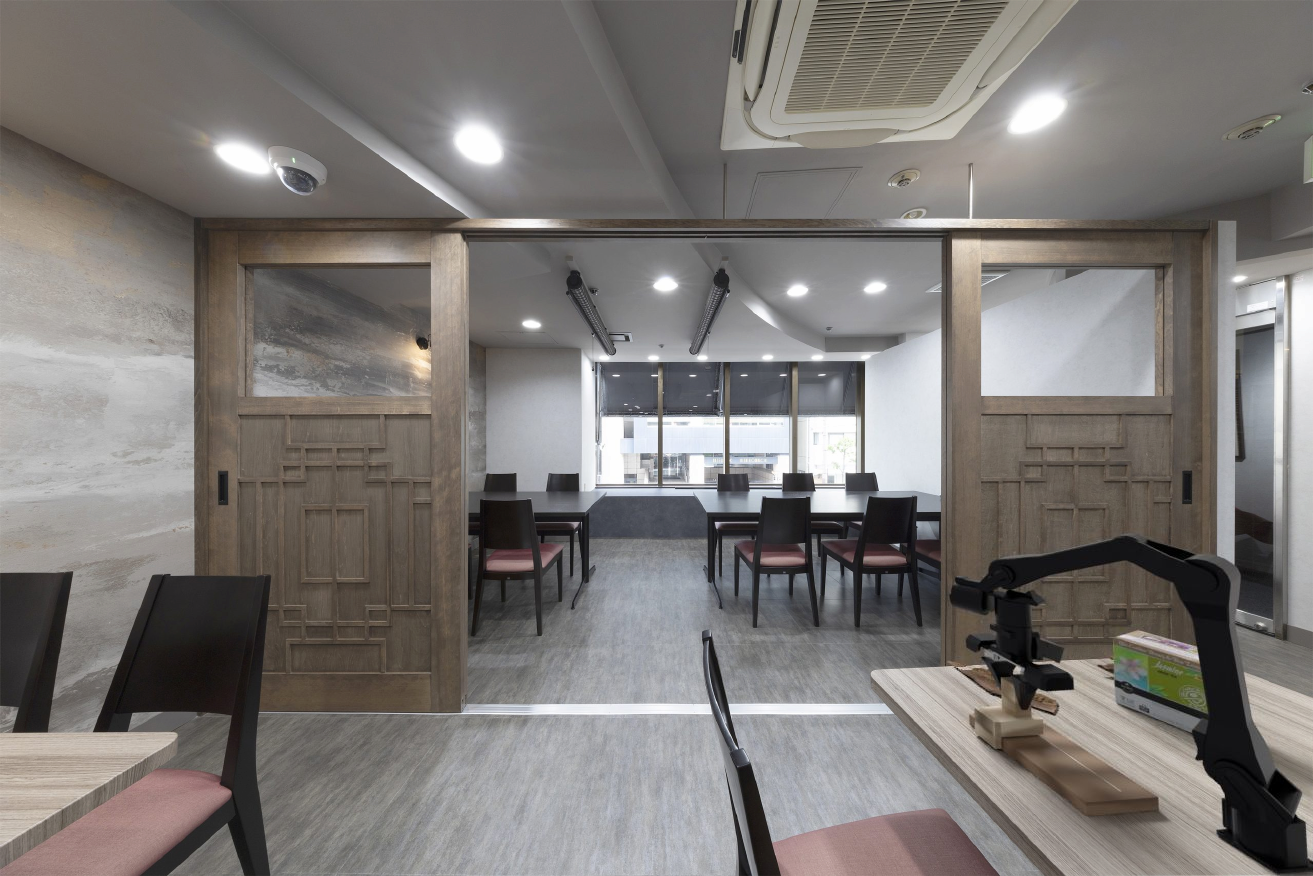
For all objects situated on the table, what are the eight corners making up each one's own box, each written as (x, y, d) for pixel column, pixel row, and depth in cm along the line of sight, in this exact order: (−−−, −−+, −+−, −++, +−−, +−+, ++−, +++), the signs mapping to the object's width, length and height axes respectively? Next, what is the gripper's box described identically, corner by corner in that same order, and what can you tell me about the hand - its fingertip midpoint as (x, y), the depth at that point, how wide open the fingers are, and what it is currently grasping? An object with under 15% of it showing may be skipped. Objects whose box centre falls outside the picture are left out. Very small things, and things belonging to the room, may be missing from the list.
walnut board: (1159, 810, 72) (1158, 796, 72) (1086, 816, 71) (1086, 802, 71) (1024, 720, 96) (1024, 710, 96) (969, 723, 95) (969, 713, 95)
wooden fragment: (1076, 712, 99) (1075, 707, 99) (1035, 719, 96) (1035, 714, 96) (968, 660, 124) (968, 656, 124) (934, 665, 121) (934, 660, 121)
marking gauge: (1043, 745, 87) (1041, 686, 87) (995, 749, 86) (993, 689, 86) (1021, 729, 92) (1019, 674, 92) (975, 732, 91) (973, 676, 91)
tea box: (1113, 704, 101) (1110, 635, 102) (1139, 694, 105) (1136, 628, 105) (1215, 744, 87) (1211, 664, 87) (1241, 732, 91) (1237, 655, 91)
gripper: (1101, 640, 81) (1105, 731, 81) (1012, 604, 100) (1014, 678, 99) (1041, 643, 80) (1045, 735, 80) (962, 607, 99) (965, 681, 98)
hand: (1016, 704), depth 89 cm, fingers closed on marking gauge, 3 cm apart
